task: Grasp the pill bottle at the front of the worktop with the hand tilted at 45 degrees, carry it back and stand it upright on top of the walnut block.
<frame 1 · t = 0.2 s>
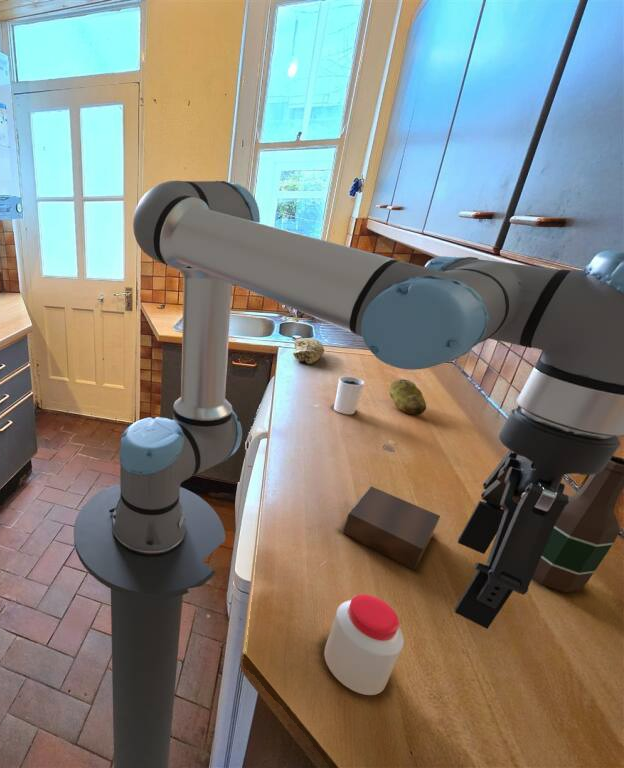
hand: (470, 579, 47), 19 cm above the worktop, tool pointing down, fingers open, 13 cm apart
beer bottle: (548, 575, 70), on the worktop
pill bottle: (354, 665, 57), on the worktop
tan rock: (305, 356, 169), on the worktop
walnut block: (387, 534, 79), on the worktop
white cup: (343, 410, 126), on the worktop
avocado: (403, 408, 127), on the worktop
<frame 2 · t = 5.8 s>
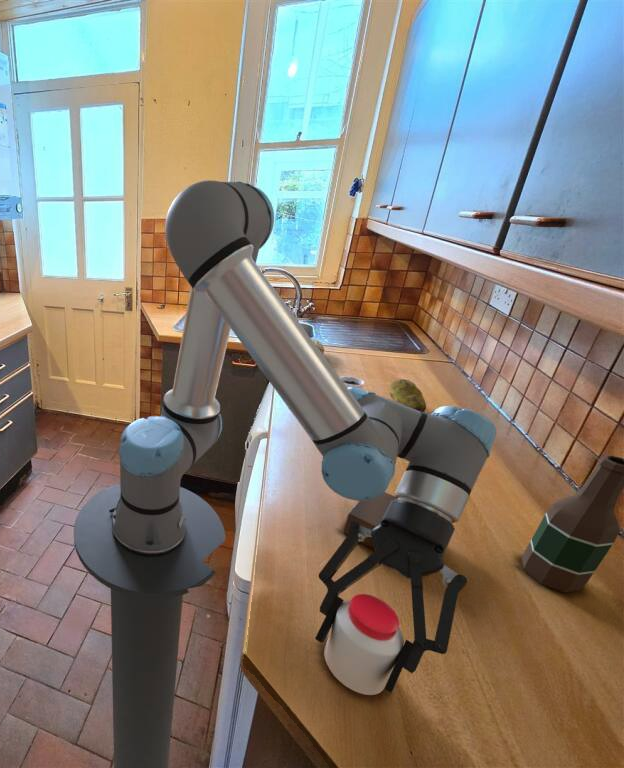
hand: (351, 663, 53), 4 cm above the worktop, tool tilted 45°, fingers closed on pill bottle, 8 cm apart
pill bottle: (354, 665, 57), on the worktop, touching gripper
everything else where it was.
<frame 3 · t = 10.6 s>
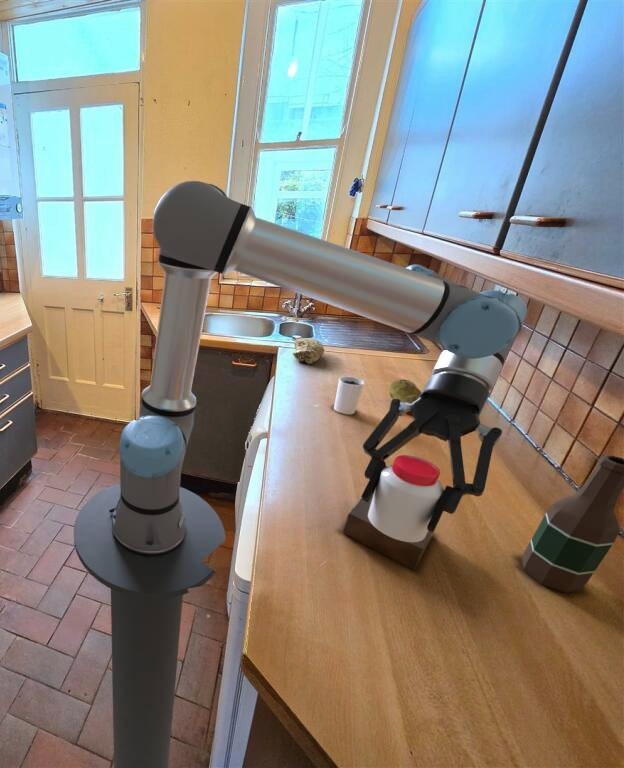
hand: (396, 513, 60), 18 cm above the worktop, tool tilted 45°, fingers closed on pill bottle, 8 cm apart
pill bottle: (395, 524, 64), point 13 cm above the worktop, touching gripper
everything else where it was.
when the fingers open (9 cm above the worktop, at t = 15.2 s): pill bottle stays where it is, resting on walnut block.
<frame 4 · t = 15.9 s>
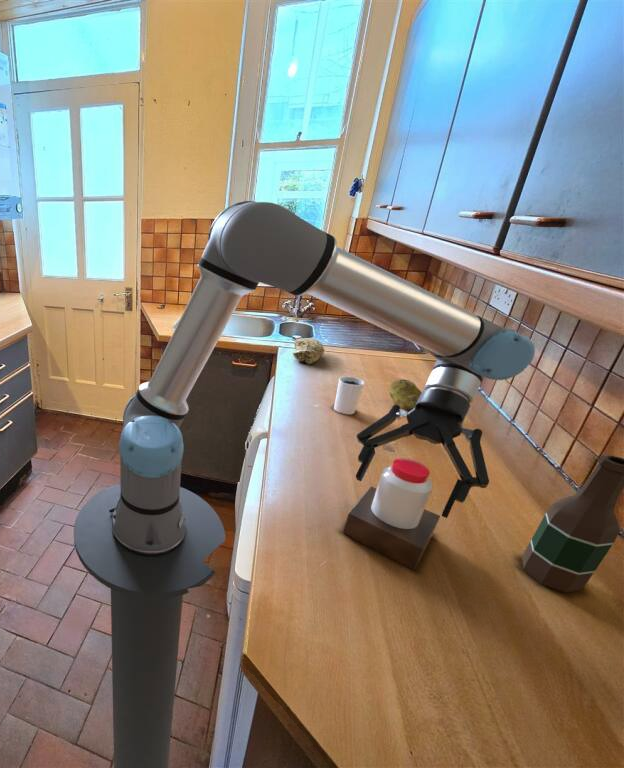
hand: (398, 496, 73), 11 cm above the worktop, tool tilted 45°, fingers open, 13 cm apart
pill bottle: (394, 515, 77), point 5 cm above the worktop, touching walnut block
everything else where it was.
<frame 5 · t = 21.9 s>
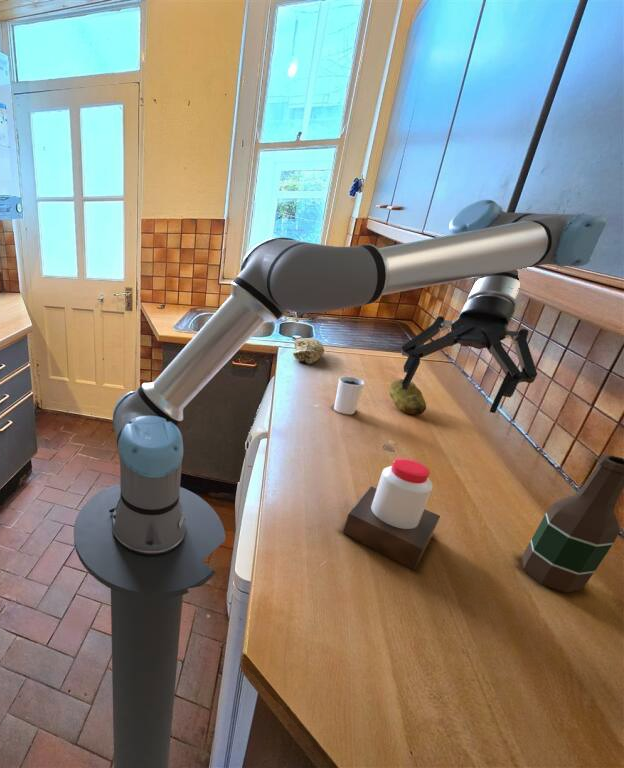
hand: (446, 397, 76), 26 cm above the worktop, tool tilted 45°, fingers open, 13 cm apart
nothing on the worktop moved.
at the end: pill bottle inside the target area on the walnut block (0.1 cm from its centre), point 4.8 cm above the walnut block's base; pill bottle tilted 0°; the gripper is holding nothing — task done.
